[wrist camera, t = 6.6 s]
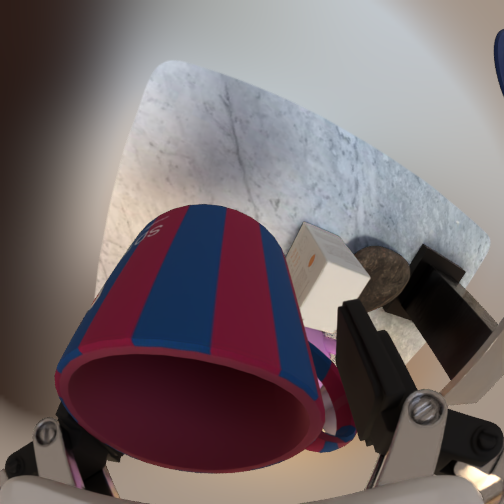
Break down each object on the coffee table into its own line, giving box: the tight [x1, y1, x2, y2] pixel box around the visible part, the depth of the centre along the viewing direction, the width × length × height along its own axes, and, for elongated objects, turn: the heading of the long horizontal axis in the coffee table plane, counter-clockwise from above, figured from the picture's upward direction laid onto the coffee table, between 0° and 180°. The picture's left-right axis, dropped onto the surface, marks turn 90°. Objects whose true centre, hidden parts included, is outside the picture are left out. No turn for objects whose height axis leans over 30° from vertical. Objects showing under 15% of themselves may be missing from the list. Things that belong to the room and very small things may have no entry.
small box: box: [286, 222, 370, 333], centre depth 33 cm, size 8×6×10 cm
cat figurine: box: [320, 385, 337, 435], centre depth 45 cm, size 8×8×12 cm
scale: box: [382, 244, 504, 405], centre depth 33 cm, size 13×13×20 cm
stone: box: [354, 246, 410, 312], centre depth 37 cm, size 11×11×5 cm
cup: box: [55, 204, 357, 473], centre depth 9 cm, size 7×10×7 cm
